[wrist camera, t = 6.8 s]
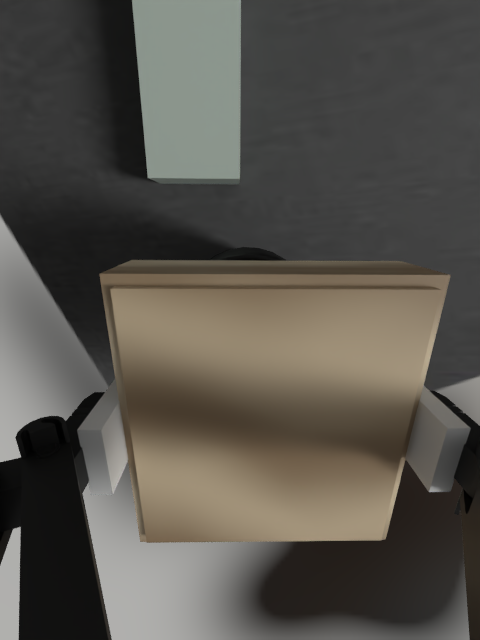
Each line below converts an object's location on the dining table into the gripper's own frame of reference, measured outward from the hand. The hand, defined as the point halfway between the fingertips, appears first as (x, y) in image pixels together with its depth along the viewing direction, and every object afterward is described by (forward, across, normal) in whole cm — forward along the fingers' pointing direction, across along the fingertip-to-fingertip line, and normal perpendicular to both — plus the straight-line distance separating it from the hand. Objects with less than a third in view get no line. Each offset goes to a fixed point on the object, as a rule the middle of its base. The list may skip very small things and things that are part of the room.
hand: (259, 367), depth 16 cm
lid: (-2, 0, 0) cm, 2 cm away
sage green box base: (+11, -4, +16) cm, 20 cm away
